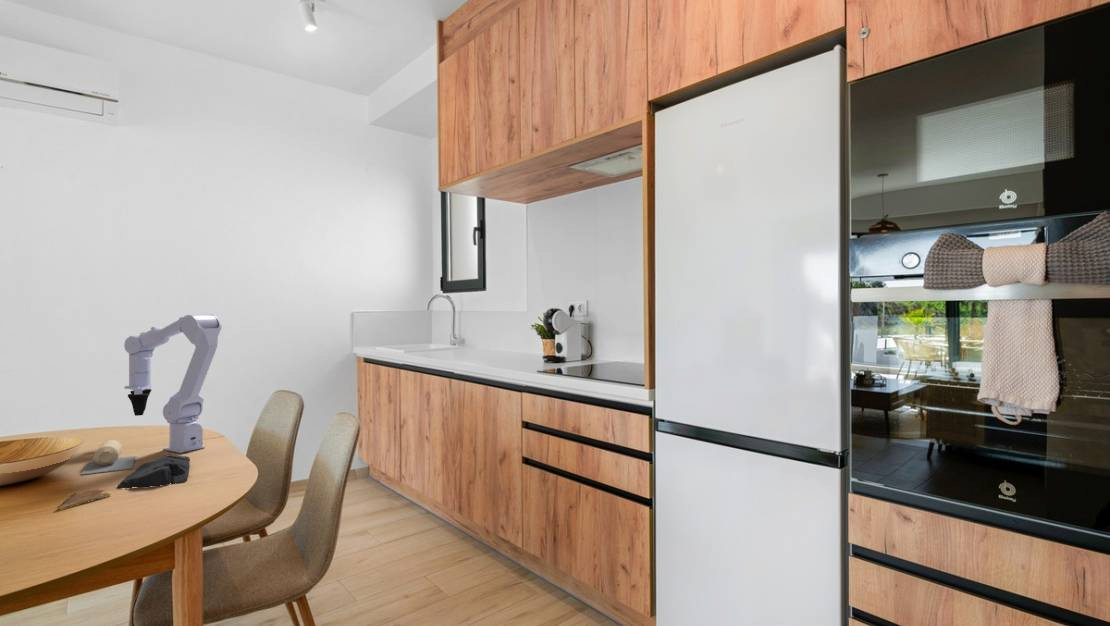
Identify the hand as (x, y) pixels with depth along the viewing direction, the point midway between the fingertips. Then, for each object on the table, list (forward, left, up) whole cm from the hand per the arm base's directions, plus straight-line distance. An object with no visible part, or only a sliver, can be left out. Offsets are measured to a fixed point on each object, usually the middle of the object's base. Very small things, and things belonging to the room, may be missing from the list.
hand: (139, 413), depth 182 cm
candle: (-11, +13, -7) cm, 19 cm away
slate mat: (-19, +17, -10) cm, 27 cm away
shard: (-46, +34, -11) cm, 58 cm away
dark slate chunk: (-40, +15, -11) cm, 44 cm away
